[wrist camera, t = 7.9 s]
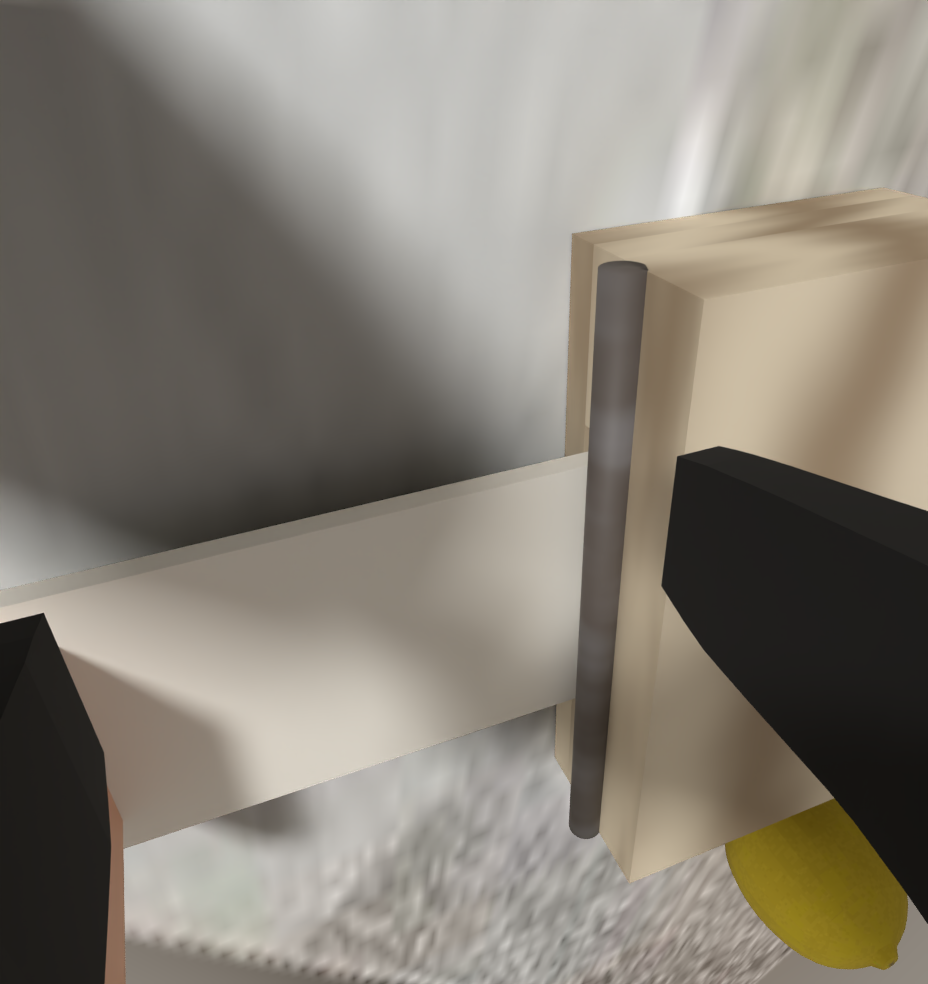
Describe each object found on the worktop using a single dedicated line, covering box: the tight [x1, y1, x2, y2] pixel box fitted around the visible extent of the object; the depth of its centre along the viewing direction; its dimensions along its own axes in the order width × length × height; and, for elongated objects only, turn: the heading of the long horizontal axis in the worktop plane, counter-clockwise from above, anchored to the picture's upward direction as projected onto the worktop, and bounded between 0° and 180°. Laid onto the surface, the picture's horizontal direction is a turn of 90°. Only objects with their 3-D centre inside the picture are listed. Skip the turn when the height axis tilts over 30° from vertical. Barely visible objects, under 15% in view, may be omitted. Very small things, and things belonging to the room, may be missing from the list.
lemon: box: [725, 798, 908, 970], centre depth 30 cm, size 6×6×8 cm
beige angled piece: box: [0, 452, 588, 984], centre depth 18 cm, size 15×8×6 cm, turn 92°
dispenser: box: [555, 188, 928, 883], centre depth 22 cm, size 10×18×5 cm, turn 2°
